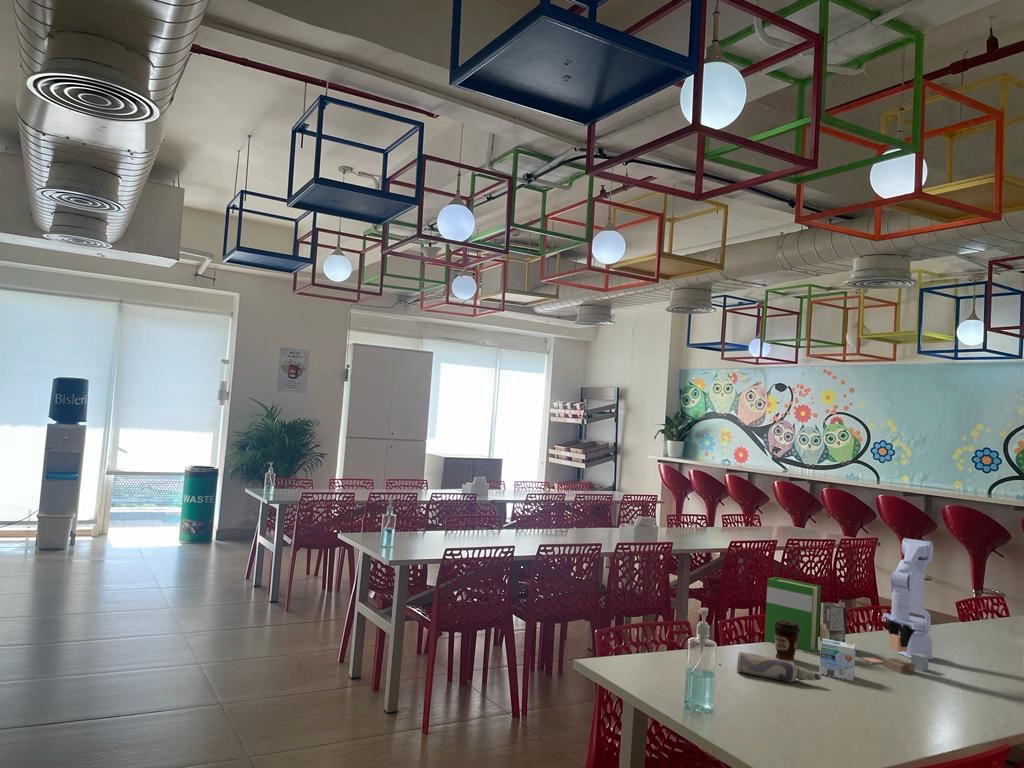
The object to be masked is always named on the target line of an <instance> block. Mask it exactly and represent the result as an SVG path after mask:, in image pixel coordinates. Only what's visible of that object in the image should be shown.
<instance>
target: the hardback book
mask: <svg viewBox="0 0 1024 768" xmlns="http://www.w3.org/2000/svg"><path fill="white" fill-rule="evenodd" d="M766 583H767V584H766V585H767V586H766V603H765V623H764V625H765V626H764V639H763V640H764V642H765V643H770V642H771V644H773V643H775V627H774V625H775V624H776V622H777V621H778V620H783V621H789V622H794V623H796V624H798V628H799V629H800V632H799V634H798V638H797V639H798V642H797V647H796V649H800V650H803V651H807V652H811V651H812V650H813V649H818V650H819V634H820V612H821V590H822V589H821V585H819V584H818V585H817V584H812V583H808V582H807V583H806V582H803V581H798V580H793V579H787V578H783V577H777V576H775V577H769V578H767V581H766ZM803 651H802V652H803ZM807 652H806V653H807ZM811 653H812V652H811Z"/></svg>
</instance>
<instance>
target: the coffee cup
mask: <svg viewBox="0 0 1024 768" xmlns="http://www.w3.org/2000/svg"><path fill="white" fill-rule="evenodd" d="M774 627H775V644H774V646H775V650H776V654H775V658H776V659H781V660H786V661H793V662H795V661H794V660H795V654H796V651H797V650H796V647H797V642H798V639H797V638H798V634H799V632H800V629H799V628H798V624H796V623H794V622H789V621H783V620H778V621H777V622H776V624H775V625H774Z"/></svg>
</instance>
